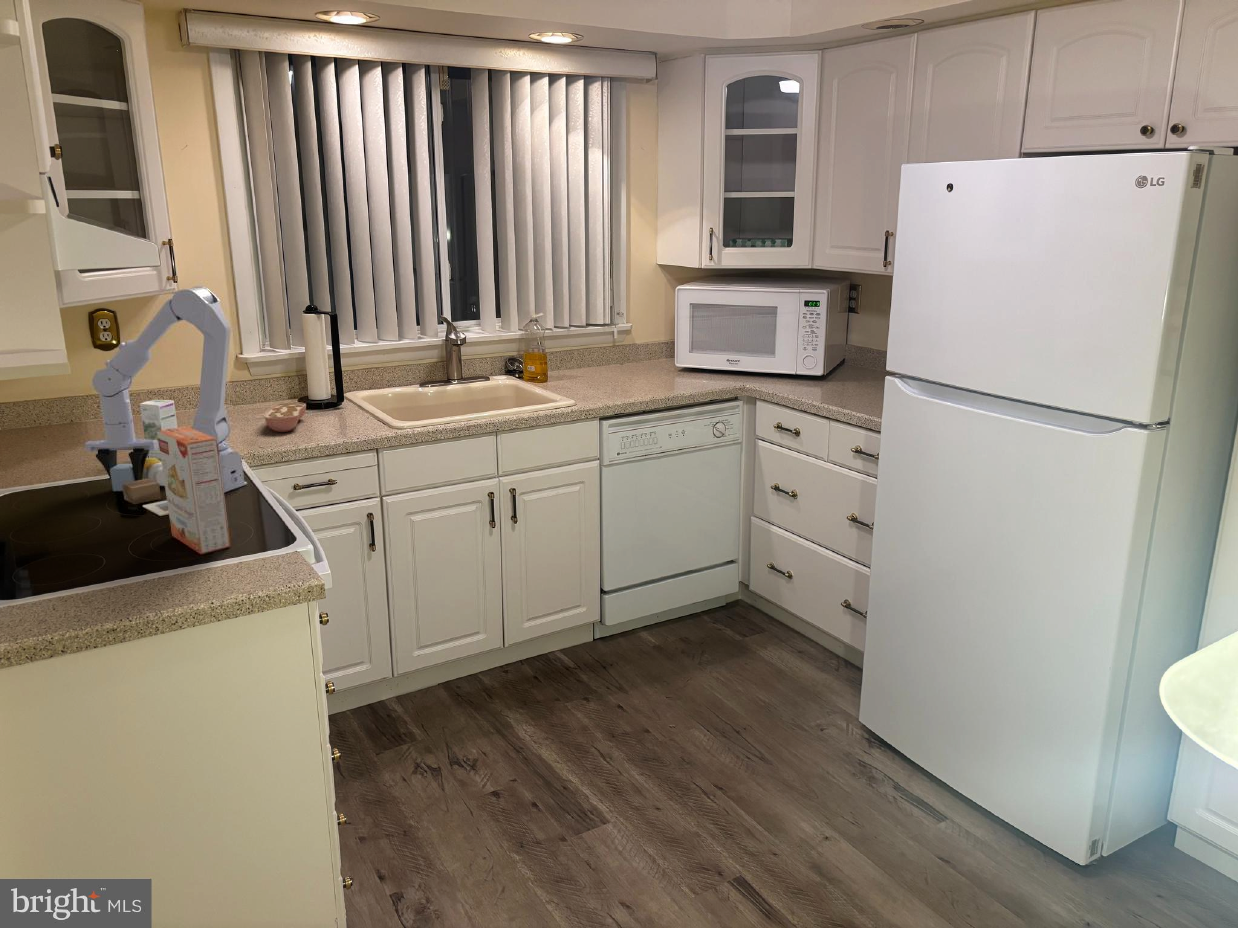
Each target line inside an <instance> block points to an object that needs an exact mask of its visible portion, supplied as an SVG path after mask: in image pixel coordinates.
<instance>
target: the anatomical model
mask: <svg viewBox="0 0 1238 928" xmlns="http://www.w3.org/2000/svg"><path fill="white" fill-rule="evenodd" d="M306 410H307V404H306V403H304V402H299V401H297V402H291V401H290V402H282V403H277V404H275V405H273V406H271V407H269V408H268V409H266V410H265V413H264V419H265V422H266V425H267V426H268V427H269V428H270V429H271V430H273V431H274V432H277V433H287V432H289V431H292V430H293V429H294V428H296V427H297V425H298V422H299V420H300V419H301V418H302V417H303V416H304V414H305V413H306Z"/></svg>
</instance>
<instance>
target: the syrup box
mask: <svg viewBox="0 0 1238 928" xmlns="http://www.w3.org/2000/svg"><path fill="white" fill-rule="evenodd" d="M139 407H140V408H139V409H140V415H141V420H142V421H141V422H142V427H143V434H144V439H147V440H157V445H158V448H157V449H155V450H149V453H148V456H147V458H156V459H158V460H160V461H161V455H160V448H159V441H158V435H157V432H158V431H161V430H166V429H173V428H178V422H177V416H176V415H177V414H176V413H177V412H176V407H175V401H174V400H170V399H169V400H168V399H166V400H165V399H151V400H147V401H143V402H141V403H139Z"/></svg>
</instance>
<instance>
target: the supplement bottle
mask: <svg viewBox="0 0 1238 928" xmlns="http://www.w3.org/2000/svg"><path fill="white" fill-rule="evenodd" d="M148 478H149V479H151V480H153V481H155V482H158V483H159V487H165V483H164V476H163V469H162V461H161V460H158V459H156V458H148V457H147V458H146V461H145V465H144V469H143V478H142V480H143V479H148Z"/></svg>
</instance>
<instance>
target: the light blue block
mask: <svg viewBox="0 0 1238 928" xmlns="http://www.w3.org/2000/svg"><path fill="white" fill-rule="evenodd" d="M110 474H111V480H112V482H111V486H112V492H123V487H122V483H127V482H133V481H135V479H134V472H133V466H132V463H117V465H116V466H114V467H113V468H111V469H110ZM111 480H110V481H111Z"/></svg>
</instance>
